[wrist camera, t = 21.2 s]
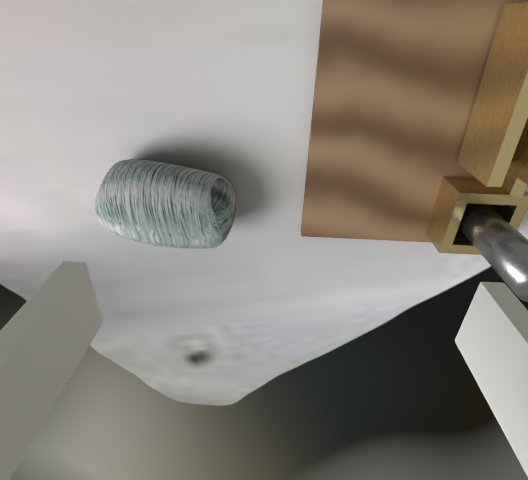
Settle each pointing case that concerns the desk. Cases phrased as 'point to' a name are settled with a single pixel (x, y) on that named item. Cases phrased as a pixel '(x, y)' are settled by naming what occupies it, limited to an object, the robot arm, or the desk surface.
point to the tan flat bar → (499, 101)
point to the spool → (166, 204)
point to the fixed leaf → (479, 202)
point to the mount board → (391, 112)
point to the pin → (498, 245)
